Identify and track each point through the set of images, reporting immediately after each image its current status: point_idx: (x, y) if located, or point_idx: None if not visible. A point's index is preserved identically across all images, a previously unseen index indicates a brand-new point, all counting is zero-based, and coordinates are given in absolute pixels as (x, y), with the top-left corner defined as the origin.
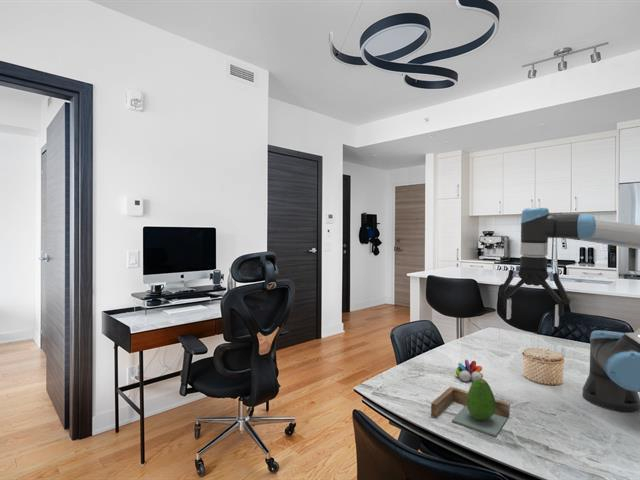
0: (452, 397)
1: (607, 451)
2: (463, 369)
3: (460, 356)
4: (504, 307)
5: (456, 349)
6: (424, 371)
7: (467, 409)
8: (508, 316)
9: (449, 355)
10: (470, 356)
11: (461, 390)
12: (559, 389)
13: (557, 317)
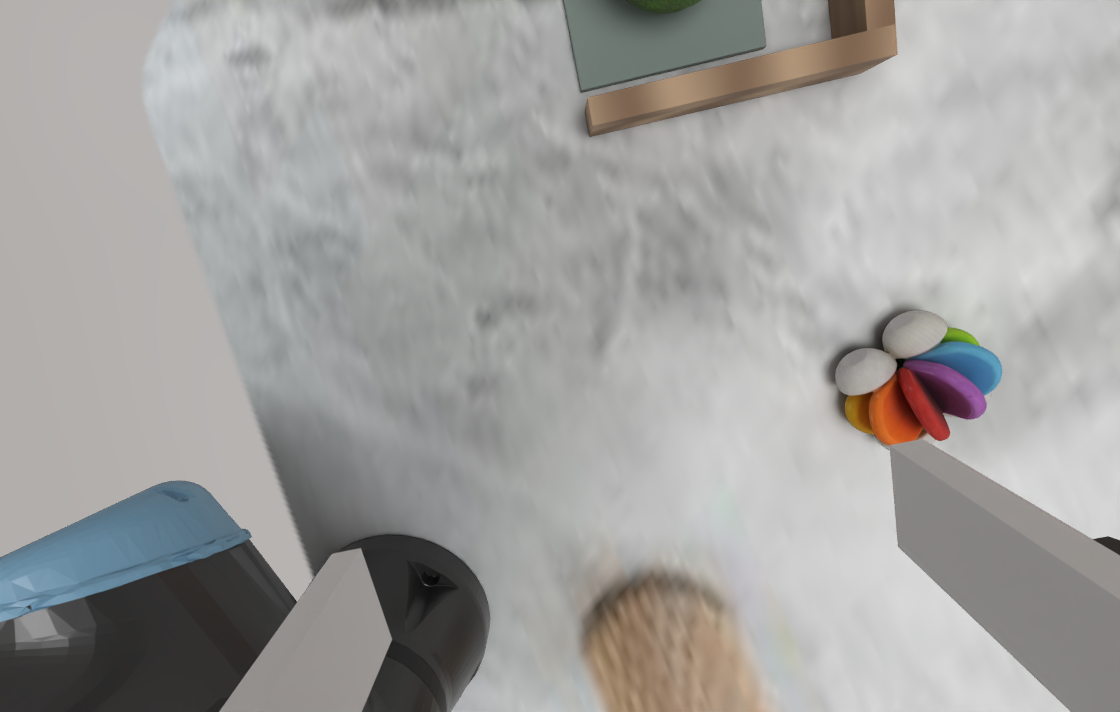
0: (845, 30)
1: (246, 173)
2: (946, 343)
3: None
4: (1118, 547)
5: None
6: (1117, 271)
7: (740, 9)
8: (924, 462)
9: None
10: None
11: (830, 59)
12: (565, 579)
13: (273, 637)
